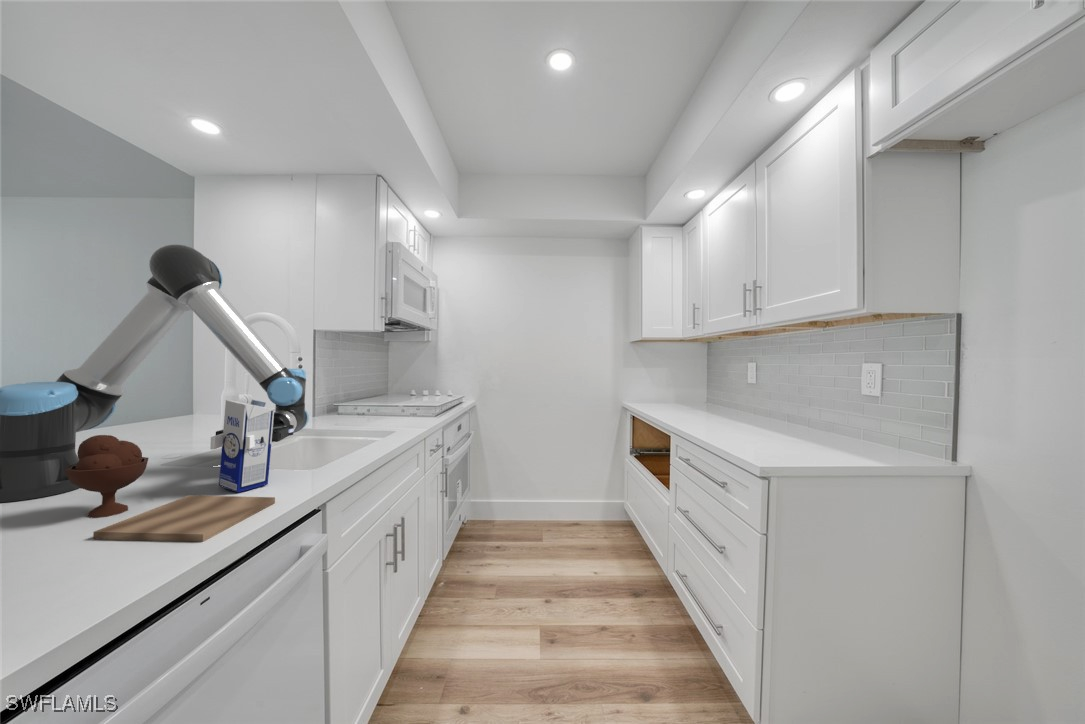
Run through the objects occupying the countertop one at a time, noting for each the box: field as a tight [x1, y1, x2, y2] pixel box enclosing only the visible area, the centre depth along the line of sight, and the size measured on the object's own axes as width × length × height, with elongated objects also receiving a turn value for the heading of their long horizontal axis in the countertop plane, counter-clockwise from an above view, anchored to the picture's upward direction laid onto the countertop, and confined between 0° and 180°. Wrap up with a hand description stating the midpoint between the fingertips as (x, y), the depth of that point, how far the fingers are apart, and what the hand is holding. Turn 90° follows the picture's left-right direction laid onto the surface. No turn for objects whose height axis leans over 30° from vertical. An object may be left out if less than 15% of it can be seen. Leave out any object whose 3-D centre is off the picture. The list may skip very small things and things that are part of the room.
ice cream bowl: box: [66, 434, 149, 519], centre depth 77 cm, size 11×11×15 cm
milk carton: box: [218, 399, 275, 493], centre depth 93 cm, size 7×7×20 cm
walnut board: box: [92, 494, 276, 543], centre depth 75 cm, size 18×18×1 cm
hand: (230, 443), depth 88 cm, fingers closed on milk carton, 6 cm apart
